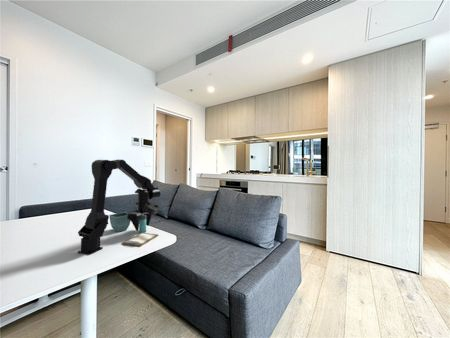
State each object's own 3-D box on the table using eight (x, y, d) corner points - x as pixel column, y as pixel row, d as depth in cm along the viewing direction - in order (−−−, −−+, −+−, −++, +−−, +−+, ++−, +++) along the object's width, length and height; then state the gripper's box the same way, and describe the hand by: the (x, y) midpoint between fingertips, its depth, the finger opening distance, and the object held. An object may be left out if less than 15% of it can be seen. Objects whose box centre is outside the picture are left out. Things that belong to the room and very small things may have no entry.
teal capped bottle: (143, 233, 105) (143, 217, 105) (137, 232, 106) (137, 216, 106) (147, 231, 108) (148, 215, 108) (141, 230, 109) (142, 215, 109)
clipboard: (140, 246, 87) (140, 243, 87) (121, 244, 90) (121, 241, 90) (158, 235, 102) (158, 233, 102) (142, 233, 104) (142, 231, 104)
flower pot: (115, 233, 103) (115, 217, 103) (108, 230, 108) (108, 214, 108) (131, 230, 110) (131, 214, 110) (124, 226, 115) (124, 212, 115)
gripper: (145, 204, 96) (144, 235, 96) (164, 198, 114) (164, 224, 114) (126, 203, 99) (125, 232, 99) (148, 197, 117) (147, 222, 117)
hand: (142, 228), depth 107 cm, fingers open, 9 cm apart
